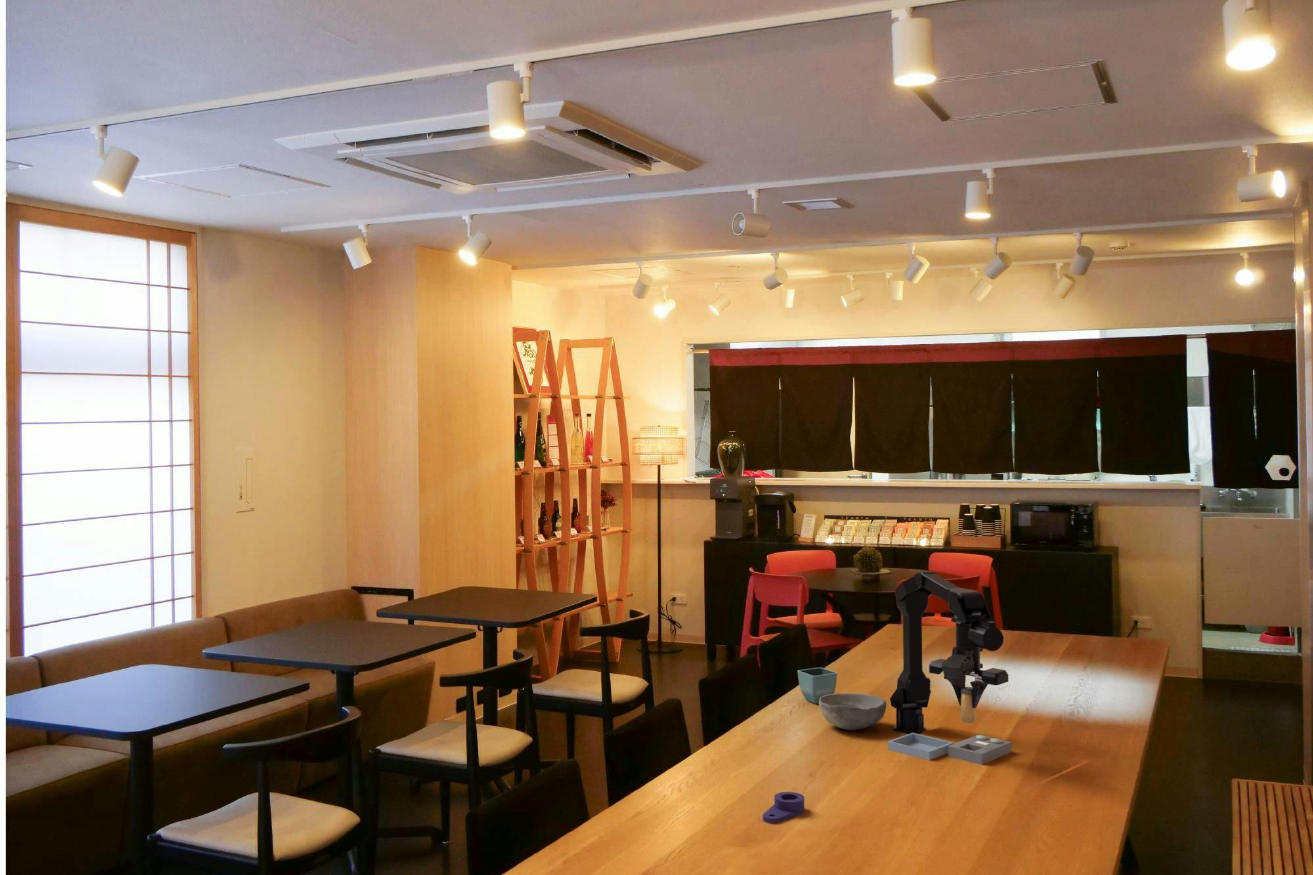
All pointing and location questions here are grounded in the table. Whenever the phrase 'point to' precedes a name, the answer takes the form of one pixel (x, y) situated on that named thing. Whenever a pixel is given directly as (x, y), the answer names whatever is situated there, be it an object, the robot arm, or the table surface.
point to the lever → (784, 807)
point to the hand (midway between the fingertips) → (967, 706)
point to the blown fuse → (967, 705)
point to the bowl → (852, 710)
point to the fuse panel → (979, 749)
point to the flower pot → (816, 683)
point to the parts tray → (919, 746)
